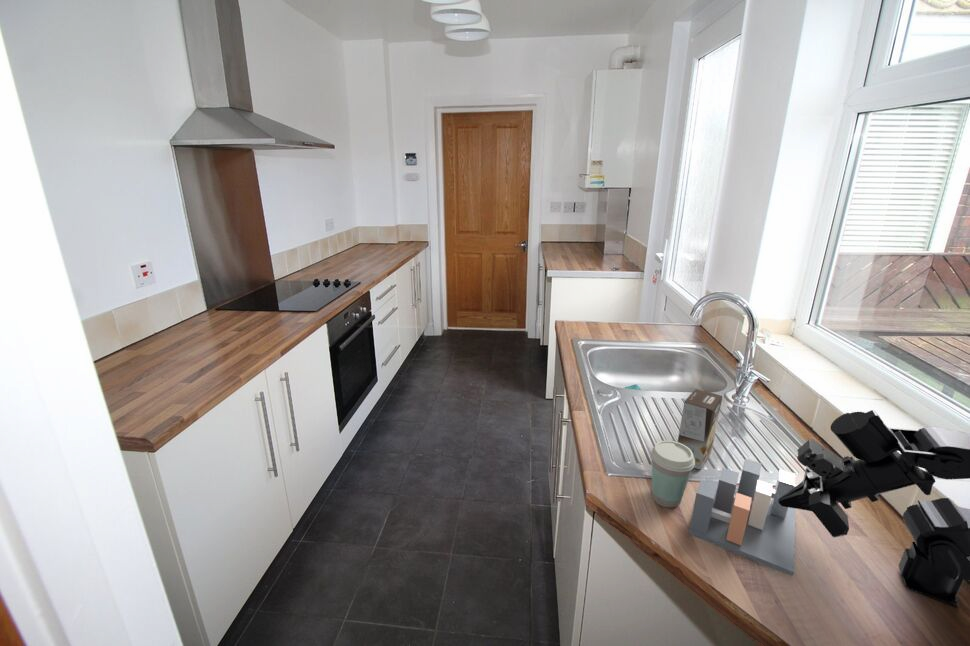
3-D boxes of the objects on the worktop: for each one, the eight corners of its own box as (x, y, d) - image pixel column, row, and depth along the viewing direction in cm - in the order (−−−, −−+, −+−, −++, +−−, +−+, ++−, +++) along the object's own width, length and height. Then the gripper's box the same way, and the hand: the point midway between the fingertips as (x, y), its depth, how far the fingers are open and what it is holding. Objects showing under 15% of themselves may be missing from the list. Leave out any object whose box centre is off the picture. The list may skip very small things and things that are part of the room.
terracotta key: (743, 531, 85) (751, 497, 83) (741, 545, 82) (749, 510, 80) (703, 516, 89) (710, 483, 86) (700, 529, 86) (706, 495, 83)
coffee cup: (688, 517, 91) (697, 467, 87) (644, 506, 94) (651, 458, 90) (686, 490, 98) (694, 443, 94) (645, 481, 101) (652, 435, 97)
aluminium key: (785, 506, 92) (794, 474, 89) (785, 518, 89) (794, 485, 86) (747, 493, 95) (754, 461, 93) (745, 504, 92) (752, 472, 90)
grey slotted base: (794, 512, 92) (805, 474, 89) (792, 576, 78) (805, 534, 74) (704, 481, 101) (711, 446, 98) (688, 534, 87) (695, 494, 83)
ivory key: (764, 517, 89) (772, 484, 86) (762, 530, 86) (771, 496, 83) (724, 503, 93) (731, 471, 90) (722, 515, 89) (729, 482, 87)
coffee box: (701, 471, 104) (713, 410, 99) (673, 460, 108) (683, 401, 103) (712, 452, 111) (723, 395, 106) (685, 443, 115) (694, 387, 110)
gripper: (835, 412, 83) (755, 443, 93) (841, 464, 69) (746, 494, 78) (877, 462, 82) (791, 488, 91) (893, 526, 67) (789, 550, 77)
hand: (779, 502), depth 84 cm, fingers closed
